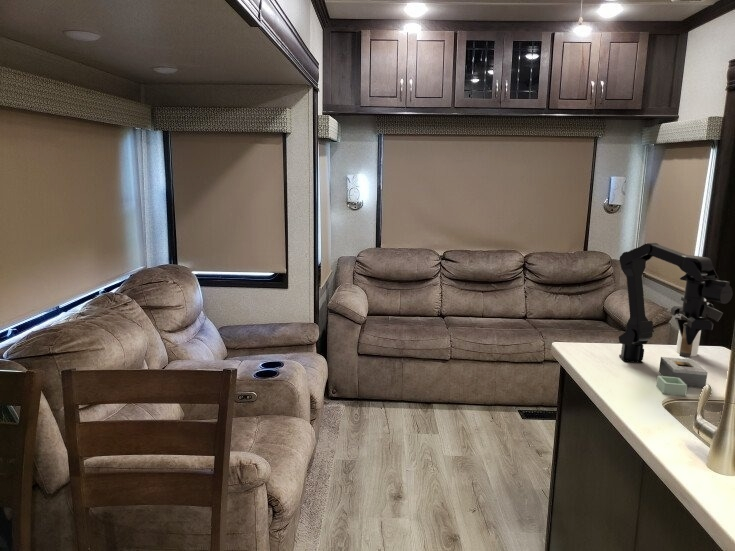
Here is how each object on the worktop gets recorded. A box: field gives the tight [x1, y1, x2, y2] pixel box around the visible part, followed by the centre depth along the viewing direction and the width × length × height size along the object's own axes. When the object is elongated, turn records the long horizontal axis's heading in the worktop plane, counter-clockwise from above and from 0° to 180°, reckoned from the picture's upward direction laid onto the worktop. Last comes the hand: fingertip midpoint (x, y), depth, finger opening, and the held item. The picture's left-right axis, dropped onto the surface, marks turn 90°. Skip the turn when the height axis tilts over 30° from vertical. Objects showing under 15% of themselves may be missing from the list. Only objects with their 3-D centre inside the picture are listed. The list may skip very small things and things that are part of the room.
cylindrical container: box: [675, 298, 707, 357], centre depth 212 cm, size 7×7×25 cm
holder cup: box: [656, 375, 688, 397], centre depth 176 cm, size 6×6×4 cm
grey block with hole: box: [658, 356, 708, 389], centre depth 185 cm, size 10×12×6 cm
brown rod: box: [678, 322, 693, 359], centre depth 183 cm, size 3×3×11 cm
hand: (687, 342), depth 183 cm, fingers closed on brown rod, 3 cm apart
